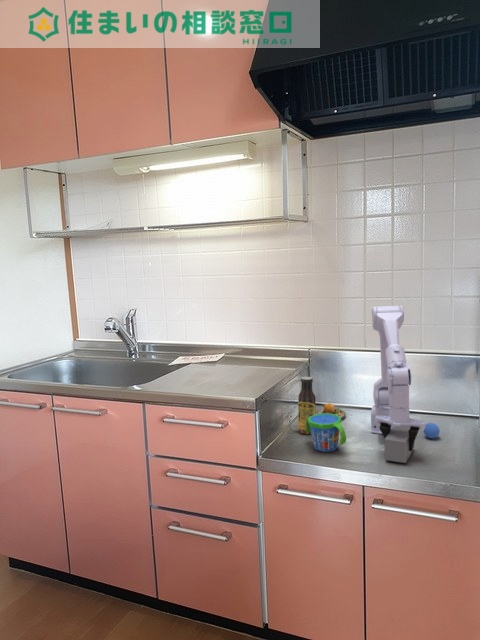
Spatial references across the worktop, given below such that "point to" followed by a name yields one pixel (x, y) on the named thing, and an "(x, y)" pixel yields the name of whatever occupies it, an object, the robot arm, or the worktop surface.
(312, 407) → the sauce bottle
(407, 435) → the grey rectangular block
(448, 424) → the worktop surface
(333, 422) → the snack cup
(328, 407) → the fruit bowl
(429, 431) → the ball
